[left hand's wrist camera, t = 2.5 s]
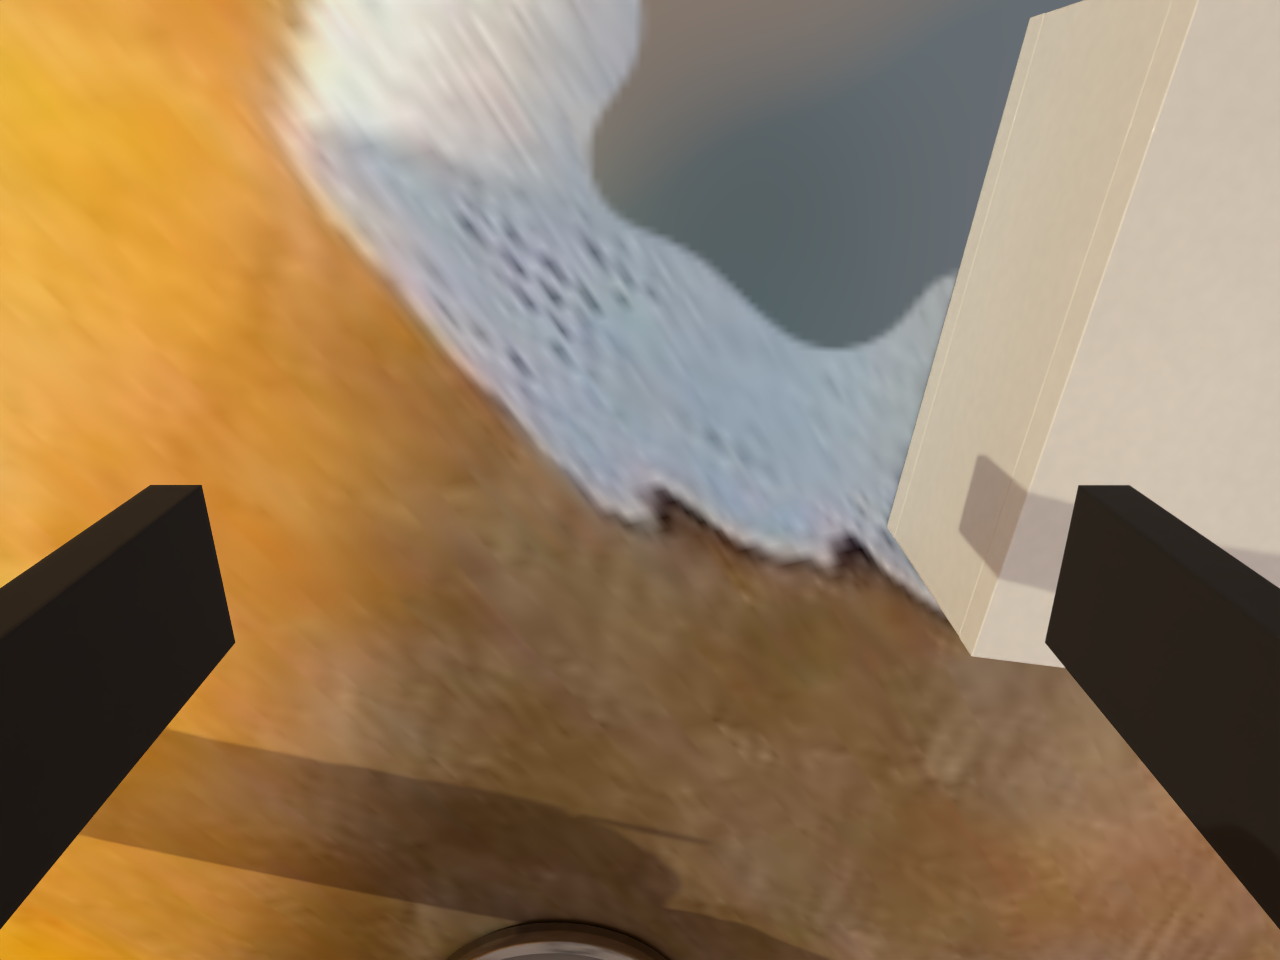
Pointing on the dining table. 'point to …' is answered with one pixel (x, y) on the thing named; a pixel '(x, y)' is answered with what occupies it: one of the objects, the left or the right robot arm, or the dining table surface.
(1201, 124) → the beige cardboard box
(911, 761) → the dining table surface
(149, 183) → the dining table surface
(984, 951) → the dining table surface
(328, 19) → the dining table surface
